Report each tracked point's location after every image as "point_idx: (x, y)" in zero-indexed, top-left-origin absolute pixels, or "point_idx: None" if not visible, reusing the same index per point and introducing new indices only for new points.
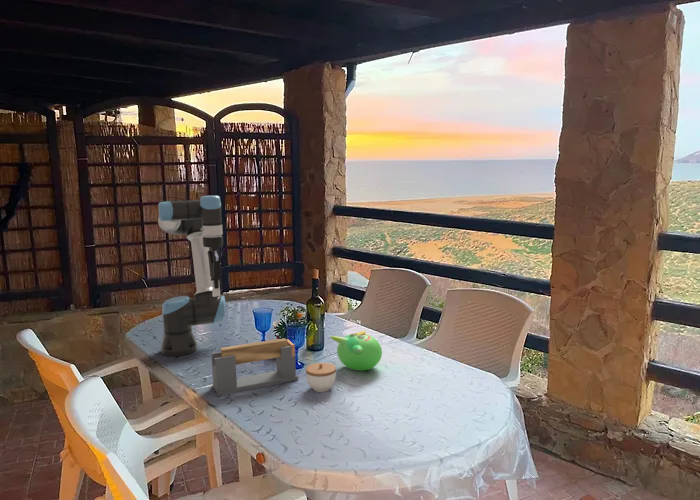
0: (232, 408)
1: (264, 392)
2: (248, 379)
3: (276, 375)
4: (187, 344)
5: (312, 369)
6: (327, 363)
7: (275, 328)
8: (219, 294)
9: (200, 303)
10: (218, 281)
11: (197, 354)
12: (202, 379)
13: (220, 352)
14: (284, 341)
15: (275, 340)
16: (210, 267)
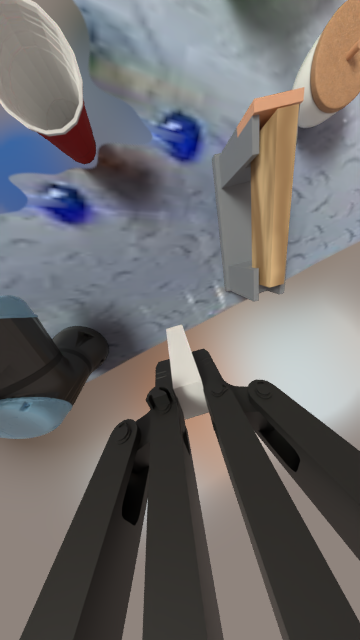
0: (291, 264)
1: None
2: (235, 242)
3: (237, 191)
4: (93, 341)
5: (345, 88)
6: (337, 18)
7: (66, 134)
8: (183, 330)
9: (10, 368)
10: (199, 375)
11: (102, 322)
12: (199, 304)
13: (258, 287)
14: (295, 118)
15: (283, 149)
16: (125, 599)
